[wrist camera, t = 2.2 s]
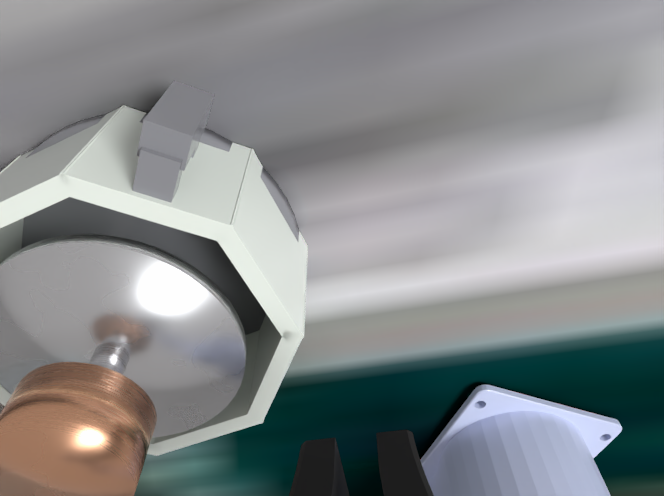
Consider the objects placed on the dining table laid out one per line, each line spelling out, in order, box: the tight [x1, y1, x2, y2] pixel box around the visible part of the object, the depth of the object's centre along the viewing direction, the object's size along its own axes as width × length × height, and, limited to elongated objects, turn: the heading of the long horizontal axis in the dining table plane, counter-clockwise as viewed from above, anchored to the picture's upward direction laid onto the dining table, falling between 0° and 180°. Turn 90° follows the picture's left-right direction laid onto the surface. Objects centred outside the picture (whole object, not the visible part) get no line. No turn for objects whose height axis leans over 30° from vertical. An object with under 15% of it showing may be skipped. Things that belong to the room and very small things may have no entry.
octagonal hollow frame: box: [0, 80, 308, 456], centre depth 18 cm, size 12×11×5 cm
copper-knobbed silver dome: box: [0, 234, 247, 496], centre depth 14 cm, size 8×8×4 cm
